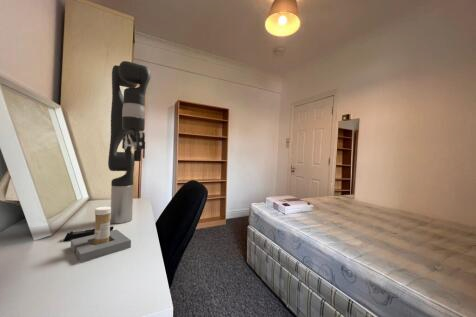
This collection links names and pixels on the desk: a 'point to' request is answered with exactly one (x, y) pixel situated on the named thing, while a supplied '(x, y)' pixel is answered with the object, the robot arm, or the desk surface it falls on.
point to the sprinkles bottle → (102, 225)
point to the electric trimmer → (81, 234)
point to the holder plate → (99, 246)
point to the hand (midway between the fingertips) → (132, 160)
